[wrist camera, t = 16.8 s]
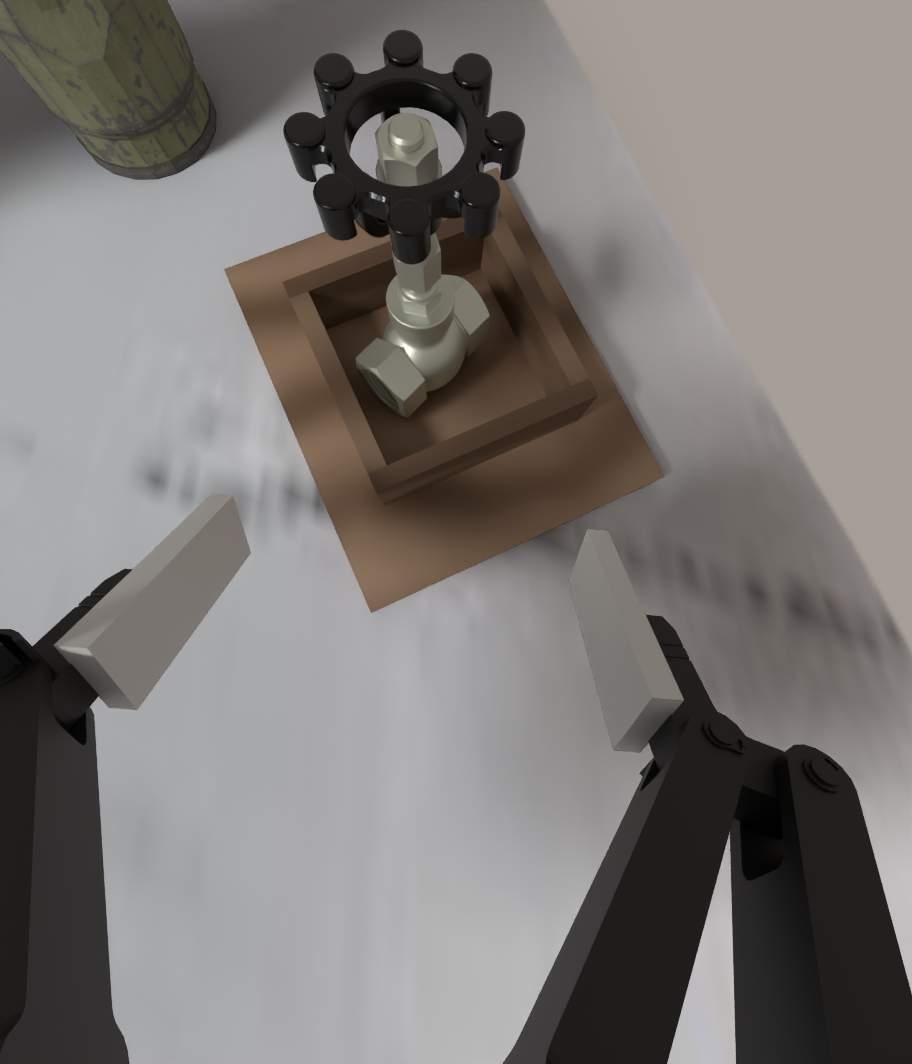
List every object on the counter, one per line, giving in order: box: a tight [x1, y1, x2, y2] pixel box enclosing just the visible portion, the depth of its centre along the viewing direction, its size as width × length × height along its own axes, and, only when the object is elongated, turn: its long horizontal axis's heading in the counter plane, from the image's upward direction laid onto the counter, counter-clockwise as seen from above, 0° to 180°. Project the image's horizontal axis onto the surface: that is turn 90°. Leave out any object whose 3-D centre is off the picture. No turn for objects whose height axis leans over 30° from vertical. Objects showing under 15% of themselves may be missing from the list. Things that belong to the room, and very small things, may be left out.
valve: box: [283, 30, 525, 418], centre depth 16 cm, size 7×7×12 cm
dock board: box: [224, 168, 664, 613], centre depth 21 cm, size 22×18×4 cm
